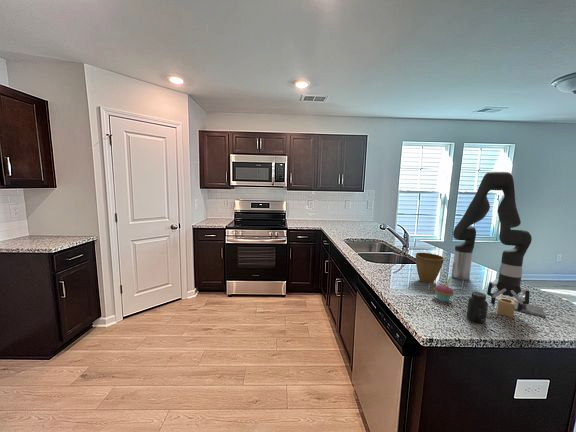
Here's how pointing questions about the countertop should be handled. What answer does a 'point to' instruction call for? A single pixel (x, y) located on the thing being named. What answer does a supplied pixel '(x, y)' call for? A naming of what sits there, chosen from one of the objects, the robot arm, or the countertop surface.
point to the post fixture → (530, 309)
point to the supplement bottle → (477, 308)
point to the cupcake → (444, 292)
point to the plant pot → (428, 266)
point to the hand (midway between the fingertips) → (505, 308)
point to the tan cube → (505, 307)
